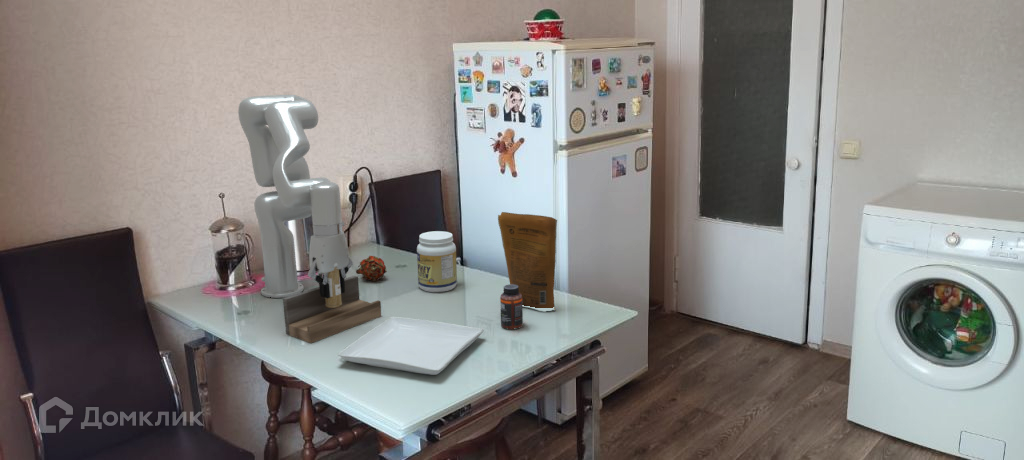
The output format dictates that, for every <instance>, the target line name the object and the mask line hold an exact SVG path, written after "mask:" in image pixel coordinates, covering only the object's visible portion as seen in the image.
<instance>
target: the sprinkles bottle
mask: <svg viewBox="0 0 1024 460" xmlns="http://www.w3.org/2000/svg"><path fill="white" fill-rule="evenodd" d="M335 266H338V264H337V263H335V264H334V268H337V267H335ZM327 284H329V292H330V297H329V298H325V300H326V304H325V306H326V307H329V308H336V307H339V306H341V305H342V300H341V286H340V276H339V269H334V271H331V272H329V273H328V276H327Z"/></svg>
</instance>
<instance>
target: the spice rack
mask: <svg viewBox="0 0 1024 460" xmlns="http://www.w3.org/2000/svg"><path fill="white" fill-rule="evenodd" d="M344 283H345V293H341V300H342V305H341V306H339V307H336V308H329V307H326V306H325V304H326V300H325V298H324V297H321V295H320V288H319V286H317V287H314V288H311V289H308V290H305V291H304V290H303V291H302V292H300V293H298V294H295V295H292V296H288V297H282V303H283V312H284V313H283V314H284V324H285V334H286V335H288V336H290V337H293V338H295V339H298V340H301V341H304V342H307V343H309V344H312V343H315V342H317V341H321V340H323V339H325V338H326V339H327V338H329V337H331V336H334V335H336V334H339V333H341V332H344V331H346V330H347V331H348V330H349V329H352V328H355V327H357V326H360V325H362V324H364V323H367V322H369V321H372V320H375V319H378V318H380V317H382V305H381V300H375V301H372V302H369V301H365V300H361V299H360V288H359V287H360V285H359V276H358V275H352V276H349V277H346V278H344Z"/></svg>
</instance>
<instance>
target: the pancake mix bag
mask: <svg viewBox="0 0 1024 460" xmlns="http://www.w3.org/2000/svg"><path fill="white" fill-rule="evenodd" d="M497 221H498V223H497V224H498V226H499V232H500V234H501V235H500V236H501V244H502V248H503V251H504V258H505V263H506V268H507V276H508V280H509V281H508V282H509V284H514V285H517V286H518V290H519V291H518V292H519V293H520V294H521V295H522V305H524V306H530V307H535V308H553V307H555V294H554V293H555V292H554V290H555V272H556V270H555V269H556V264H557V263H556V258H557V256H556V253H557V229H558V228H557V227H558V226H557V225H558V224H557V223H558V219H556V218H554V217H551V216H546V215H539V214H529V213H527V214H526V213H525V214H524V213H523V214H522V213H513V212H507V211H501V214H497ZM555 308H556V307H555Z"/></svg>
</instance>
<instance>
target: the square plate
mask: <svg viewBox="0 0 1024 460" xmlns="http://www.w3.org/2000/svg"><path fill="white" fill-rule="evenodd" d="M484 331H485V330H484V328H479V327H474V326H466V325H461V324H454V323H448V322H442V321H435V320H427V319H418V318H410V317H400V316H390V317H389V318H387V319H386V320H384V321H383V322H381V323H380V324H378V325H376V326H375V327H373V328H372V329H371V330H369V331H367V332H366V333H364V334H363V335H362V336H360V337H359V338H358V339H356V340H355V341H353V342H352V343H350V344H349V345H348V346H347V347H345V348H344V349H342V350H341V351H340V352H338V353H337V356H338V357H340V358H342V359H343V360H345V361H347V362H351V363H356V364H362V365H367V366H371V367H377V368H383V369H389V370H390V369H391V370H396V371H403V372H409V373H414V374H423V375H431V376H435V375H436V376H437V375H439V374H440V373H441V372H442V371H443V370H444V369H446V368H447V367H448V366H449V364H450V363H452V362H453V361H454V360H455V359H456V358H457V357H458V356H459V355H460V354H461V353H462V352H464V351H465V350H466V349H467V348H468V347H470V346H472V344H473V343H474V342H475V341H476V340H477V339H478V338H479V337H481V336H480V335H482V334H483V332H484Z"/></svg>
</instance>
